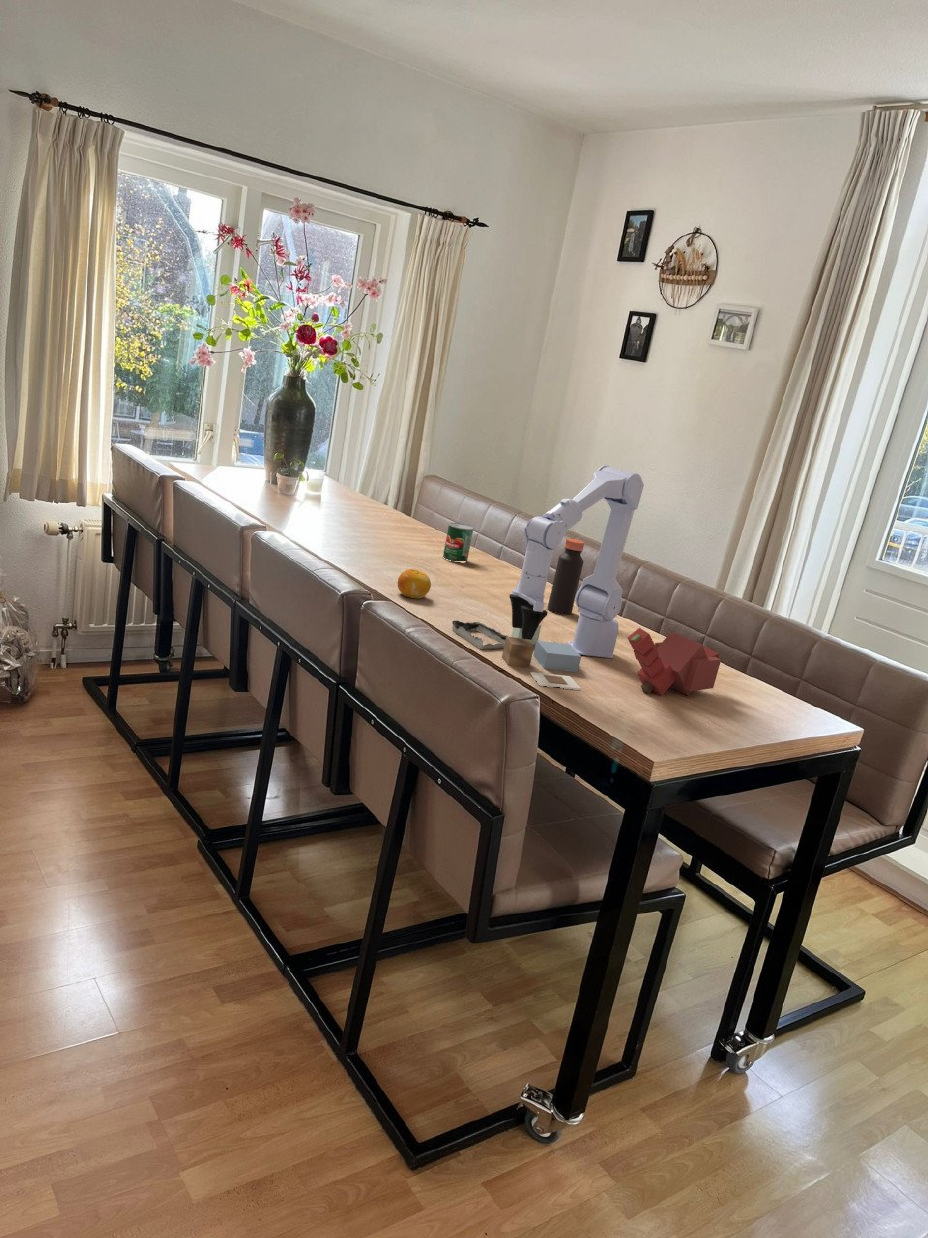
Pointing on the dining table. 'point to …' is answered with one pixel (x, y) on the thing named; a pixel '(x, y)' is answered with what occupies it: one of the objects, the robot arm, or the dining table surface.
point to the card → (555, 681)
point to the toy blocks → (674, 663)
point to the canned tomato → (458, 542)
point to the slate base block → (557, 656)
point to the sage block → (518, 634)
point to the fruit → (414, 583)
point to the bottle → (566, 578)
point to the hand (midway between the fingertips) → (521, 633)
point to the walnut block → (517, 652)
